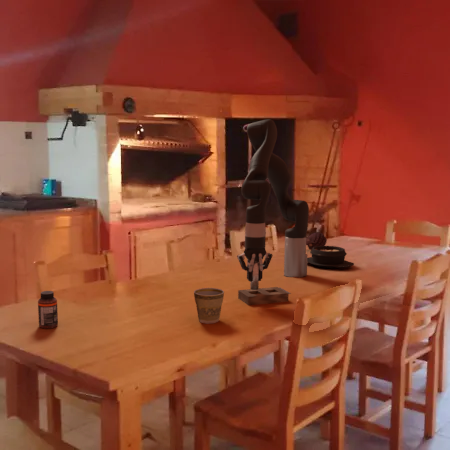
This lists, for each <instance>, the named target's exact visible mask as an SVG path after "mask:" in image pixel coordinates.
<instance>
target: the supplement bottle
mask: <svg viewBox="0 0 450 450" xmlns="http://www.w3.org/2000/svg"><path fill="white" fill-rule="evenodd" d="M54 296H55V293H54V291H52V290H44V291H41V292H40V298H39V299H38V301H37V311H38V327H40V328H41V329H53V328H56V327H57V326H58V325H59V318H58V315H59V314H58V299H57V298H56V297H54Z"/></svg>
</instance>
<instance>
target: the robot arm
mask: <svg viewBox="0 0 450 450" xmlns="http://www.w3.org/2000/svg"><path fill="white" fill-rule="evenodd" d="M246 135H247V137H248V140H249V142H250V144H251V146H252V148H253V149H254V152H255V153H253V156H252V157H251V159H250V163H249V169H248V173H247V175H246V177H245V178H244V181H243V182H242V184H241V188H240V192H241V196H242V197H243V198H244V199H245V200H257V201H258V200H259V203H258V204H256V205H250V206H247V207H246V210H245V225H244V226H245V228H244V232H245V233H244V251H243V253H241V254H238V255H237V256H236V257H237V259H238V260H237V261H238V262H239V264H240V267H241V269H242V270H244V271H245V272H246V280H247V281H248V282H250V283H251V282H252V272H251V271H252V267H253V264H254V262H259V282H261V281H262V279H263V272H264V270H267V269H268V268H269V265H270V263H271V261H272V257H273V256H274V255H273V253H270V252H267V250H266V234H267V231H266V229H267V228H266V211H267V205H268V201H269V198H270V195H271V191H273V192H274V196H275V198H276V200H277V204H278V207H279V210H280V214H281V216H282V217H283V218H284V219H285V220H286V221H291V222H295V223H294V226H293V227H291V228H287V229H285V231H284V256H283V257H284V261H283V262H284V263H283V265H284V266H283V275H284V276H285V277H287V278H304V277H308V262H307V258H308V253H307V251H306V250H307V249H306V248H307V245H306V238H307V232H308V227H309V214H310V208H309V204H308V202H307V201H306V200H302V199H300V200H299V199H292V198H291V196H290V194H289V192H288V191H289V187H290V184H291V180H292V175H291V173H290V170H289V167H288V165H287V163H286V162H285V160H284V159H282V158H281V157H280V156H279V155H278V154H277V155H276V153H273V151H274V149H275V145H276V142H277V138H278V128H277V125H276V122H275V121H274V120H272V119H270V118H269V119H267V118H266V119H262V120H259V121H258V120H257V121H253V122H252V123H249V124H248V125H247V126H246ZM267 179H268V181H267ZM245 258H246V259H247V261H246V262H245ZM263 259H264V260H263Z"/></svg>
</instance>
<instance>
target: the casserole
mask: <svg viewBox="0 0 450 450" xmlns="http://www.w3.org/2000/svg"><path fill="white" fill-rule="evenodd" d="M347 254H348V253H347V252H346V249H345V248H343V247H339V246H335V245H325V246H317V247H313V248H312V250H310V255H311V257H307V264H311V265H314V266H315V267H318V268H323V269H337V268H348V267H353V266H354V265H355V263H354V262H352V261H348V260H345V257H346V255H347Z"/></svg>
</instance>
